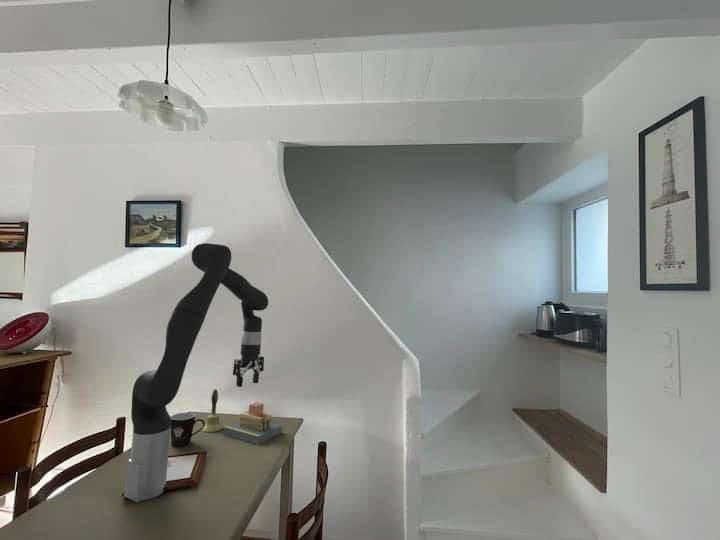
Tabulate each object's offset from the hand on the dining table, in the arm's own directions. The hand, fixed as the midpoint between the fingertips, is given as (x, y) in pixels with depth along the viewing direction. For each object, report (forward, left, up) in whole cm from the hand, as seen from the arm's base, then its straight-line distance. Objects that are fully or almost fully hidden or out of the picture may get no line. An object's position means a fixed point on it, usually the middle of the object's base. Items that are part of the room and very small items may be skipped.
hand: (247, 384), depth 138 cm
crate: (+6, +1, -13) cm, 15 cm away
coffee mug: (-15, +16, -21) cm, 30 cm away
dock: (+6, +2, -21) cm, 22 cm away
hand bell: (+1, +20, -21) cm, 29 cm away
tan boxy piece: (+6, +1, -18) cm, 19 cm away
